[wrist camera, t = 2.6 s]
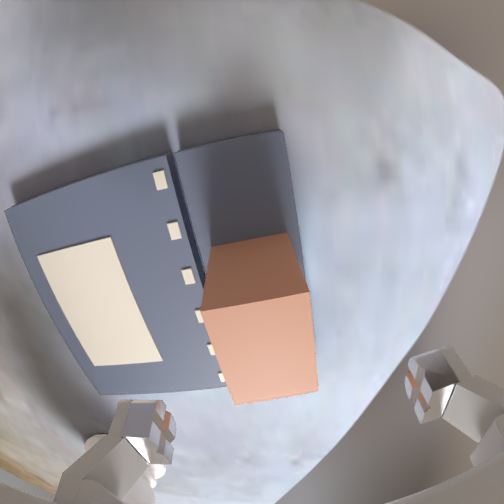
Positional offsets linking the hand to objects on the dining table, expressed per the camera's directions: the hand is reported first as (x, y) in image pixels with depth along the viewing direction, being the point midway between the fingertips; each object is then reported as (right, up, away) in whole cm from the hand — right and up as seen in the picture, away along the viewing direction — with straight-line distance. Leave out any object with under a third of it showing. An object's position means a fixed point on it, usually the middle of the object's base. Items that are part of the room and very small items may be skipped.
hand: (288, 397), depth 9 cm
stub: (-1, +3, +7) cm, 8 cm away
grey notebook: (-8, +2, +8) cm, 12 cm away
